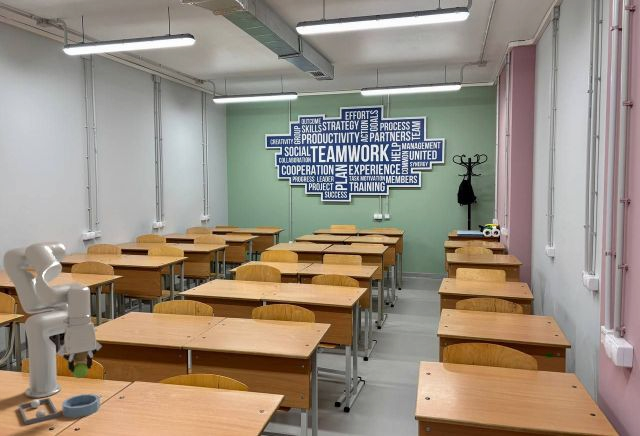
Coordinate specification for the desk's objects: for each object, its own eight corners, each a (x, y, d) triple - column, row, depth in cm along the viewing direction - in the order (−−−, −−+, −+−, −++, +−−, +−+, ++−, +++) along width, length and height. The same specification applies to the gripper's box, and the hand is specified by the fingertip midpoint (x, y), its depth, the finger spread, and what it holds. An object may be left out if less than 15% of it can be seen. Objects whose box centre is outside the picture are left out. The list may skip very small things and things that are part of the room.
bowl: (59, 408, 187) (59, 399, 187) (94, 400, 194) (94, 391, 194) (67, 420, 178) (66, 410, 177) (103, 411, 185) (102, 402, 185)
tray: (18, 408, 187) (18, 404, 187) (49, 401, 193) (49, 397, 193) (25, 425, 174) (25, 420, 174) (58, 417, 180) (58, 412, 180)
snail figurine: (72, 375, 187) (71, 343, 187) (90, 374, 188) (89, 342, 187) (66, 380, 182) (65, 347, 181) (85, 380, 182) (84, 347, 182)
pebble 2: (35, 417, 179) (34, 409, 179) (44, 415, 181) (44, 407, 181) (36, 421, 177) (36, 412, 177) (46, 418, 179) (46, 410, 179)
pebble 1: (30, 407, 188) (29, 399, 188) (39, 405, 190) (39, 397, 190) (31, 410, 186) (31, 402, 186) (40, 407, 188) (40, 400, 187)
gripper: (55, 326, 176) (56, 377, 177) (106, 319, 186) (107, 367, 187) (51, 322, 182) (52, 371, 183) (101, 314, 192) (102, 362, 193)
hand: (80, 369), depth 185 cm, fingers closed on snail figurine, 5 cm apart
